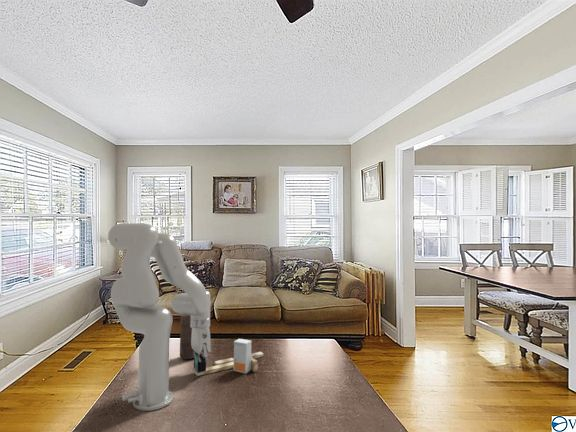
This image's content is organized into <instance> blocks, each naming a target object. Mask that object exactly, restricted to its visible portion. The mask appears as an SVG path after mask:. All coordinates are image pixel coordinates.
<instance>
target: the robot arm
mask: <svg viewBox="0 0 576 432" xmlns="http://www.w3.org/2000/svg"><path fill="white" fill-rule="evenodd" d="M156 228H157V227H155V226H154V225H152V224H149V223H148V224H147V223H139V222H137V223H131V222H130V223H129V222H126V223H124V222H123V223H121V222H120V223H117V224H115V225H113V226H111V228H110V229H109V231H108V236H107V239H108V241H109V244H110V245H111V246H112V247H113V248H114V249H116V250H119V251H122V252H125V254H124V256H123V257H122V261H121V263H120V272H121V275H122V277H119V278H118V279H116V280H115V281H114V283H113V284H112V286H111V289H110V299H111V300H110V301H111V303H112V304H113V307H114V309H115V312H116V315H117V317H118V320H119V322H120V324H121V325H122V327H123V328H124V329H125V330H127V331H128V332H132V333H136V334H141V335H144V336H143V339H142V341H141V342H140V344H139V347H138V383H137V384H138V385H137V387H136V388H135V391H133V392H132V393H126V394H123V395H122V402H126V401H127V403H128V404H130V403H132V406H133V408H135V409H136V410H138V411H148V412H149V411H155V410H160V409H163V408H165V407H167V406H169V405H170V404H171V403H172V402H173V400H174V394H173V392H172V391H170V389H169V387H170V386H169V385H170V384H169V383H170V339H171V338H170V337H171V330H172V327H173V326H172V325H173V320H174V318H173V314H172V312H171V311H170V309H168V307H164V306H161V305H156V304H158V301H159V298H160V291H159V288H158V286H157V282H156V280H155V276H154V274H153V271H152V268H151V267H152V266H151V264H150V263H151V262H150V260H151V258H154V260H155V262H156V264H157V266H158V268H159V271H160V274H161V276H162V278H163V279H164V280H165V281H166V282H168V283H169V284H171V285H172V286H174V287H176V288H178V289H181V290H182V291H184V292H181V293H178V294H175V296H174V297H173V298H172V300H171V304H170V305H171V309H172V310H173V311H174V312H175V313H177V314H180V315H181V314H188V315H191V321H190V327H191V328H192V335H191V346H192V349H193V350H194V358H193V369H195V354H198V359H199V362H198V372H203V371H206V368H207V358H208V355H209V354H210V353H211V352H212V347H211V345H212V344H211V331H210V327H211V293H210V291H208V290H206V288H205V286H204V284H203V283H202V281H201V280H200V279H199V278H198V277H196V275H195V274H194V273H193V272H192V271H190V270H189V269H188V268H187V266H186V264H185V261H184V258H183V255H182V253H181V251H180V248H179V246H178V243H177V241H176V239H175V237H174V236H173V235H172V234H169V233H163V232H162V233H160V232H158V230H157V229H156ZM201 355H203V356H201Z"/></svg>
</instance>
